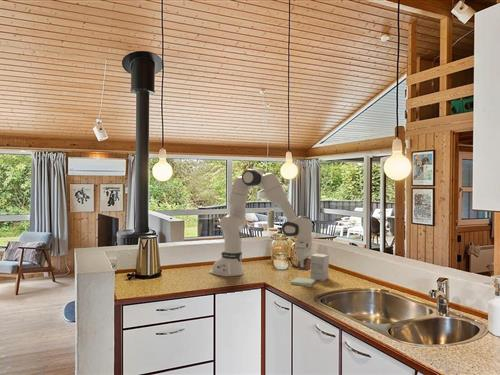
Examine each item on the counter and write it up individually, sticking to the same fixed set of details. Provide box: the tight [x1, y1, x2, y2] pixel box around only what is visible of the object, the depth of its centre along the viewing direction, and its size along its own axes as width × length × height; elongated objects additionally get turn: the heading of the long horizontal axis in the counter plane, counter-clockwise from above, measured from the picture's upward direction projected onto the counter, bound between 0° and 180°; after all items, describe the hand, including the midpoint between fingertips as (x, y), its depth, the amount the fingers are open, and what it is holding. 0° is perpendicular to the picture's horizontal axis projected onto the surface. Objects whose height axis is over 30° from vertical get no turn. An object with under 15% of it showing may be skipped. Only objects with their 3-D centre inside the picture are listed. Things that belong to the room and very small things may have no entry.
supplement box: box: [309, 253, 330, 282], centre depth 249 cm, size 9×9×15 cm
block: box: [297, 258, 311, 272], centre depth 237 cm, size 6×6×6 cm
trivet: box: [290, 276, 317, 288], centre depth 238 cm, size 12×12×2 cm
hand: (304, 265), depth 238 cm, fingers closed on block, 6 cm apart
